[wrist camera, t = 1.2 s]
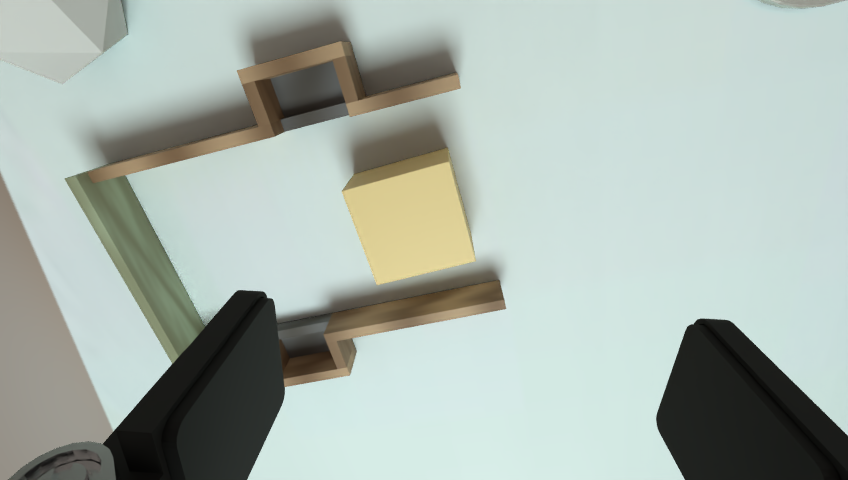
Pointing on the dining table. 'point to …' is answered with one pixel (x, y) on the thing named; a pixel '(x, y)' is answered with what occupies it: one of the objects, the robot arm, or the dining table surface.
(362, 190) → the block
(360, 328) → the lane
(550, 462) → the dining table surface
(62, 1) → the die
